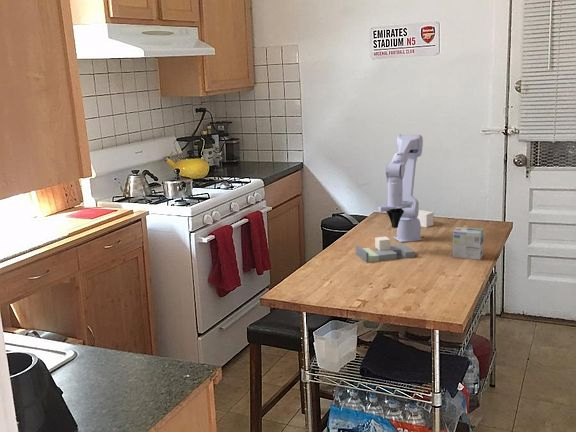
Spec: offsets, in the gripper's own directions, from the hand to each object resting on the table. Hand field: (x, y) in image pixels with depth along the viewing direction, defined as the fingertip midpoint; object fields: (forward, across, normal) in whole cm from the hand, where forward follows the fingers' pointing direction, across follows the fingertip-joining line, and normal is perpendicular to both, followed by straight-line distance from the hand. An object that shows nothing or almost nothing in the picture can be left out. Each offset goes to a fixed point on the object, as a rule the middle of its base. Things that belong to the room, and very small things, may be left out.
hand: (394, 227), depth 262 cm
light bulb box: (+10, +20, -20) cm, 30 cm away
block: (+8, -6, 0) cm, 10 cm away
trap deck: (+10, -6, -3) cm, 12 cm away
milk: (+7, +36, +23) cm, 43 cm away
